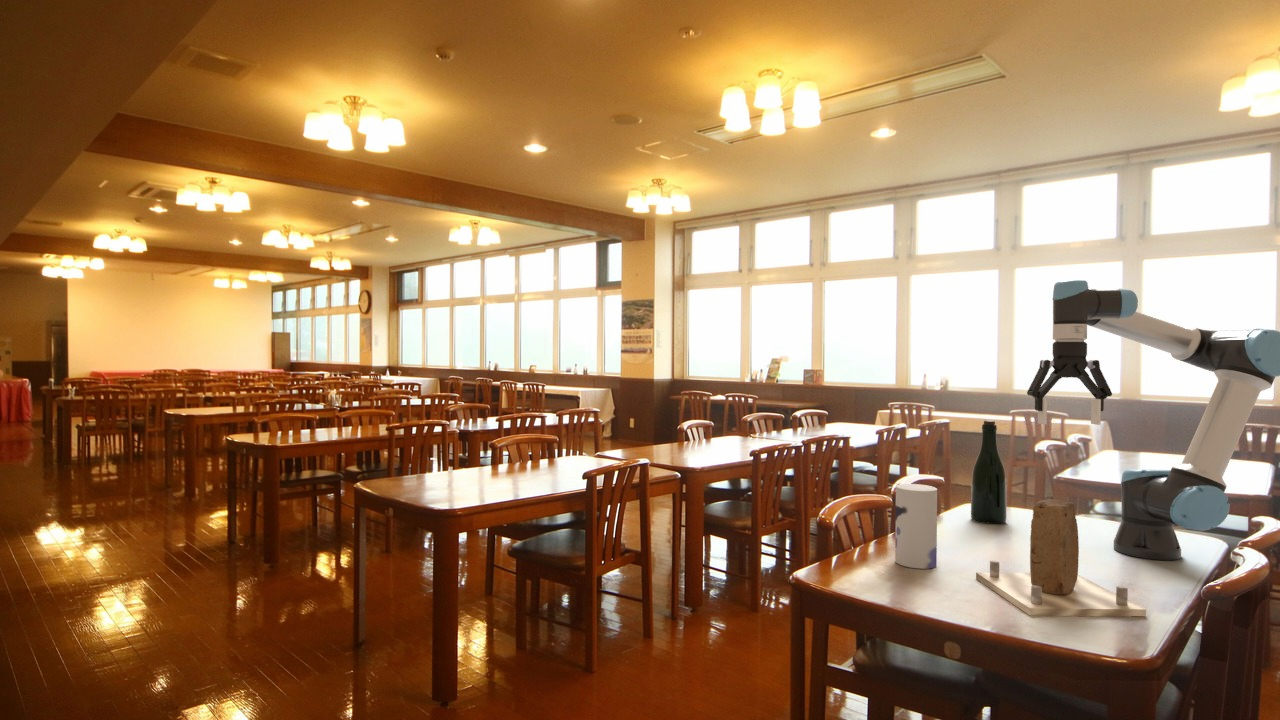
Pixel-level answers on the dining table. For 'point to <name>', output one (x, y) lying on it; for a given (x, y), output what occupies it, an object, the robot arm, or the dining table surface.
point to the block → (1054, 546)
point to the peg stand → (1059, 596)
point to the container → (916, 526)
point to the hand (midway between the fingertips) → (1068, 424)
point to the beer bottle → (988, 480)
